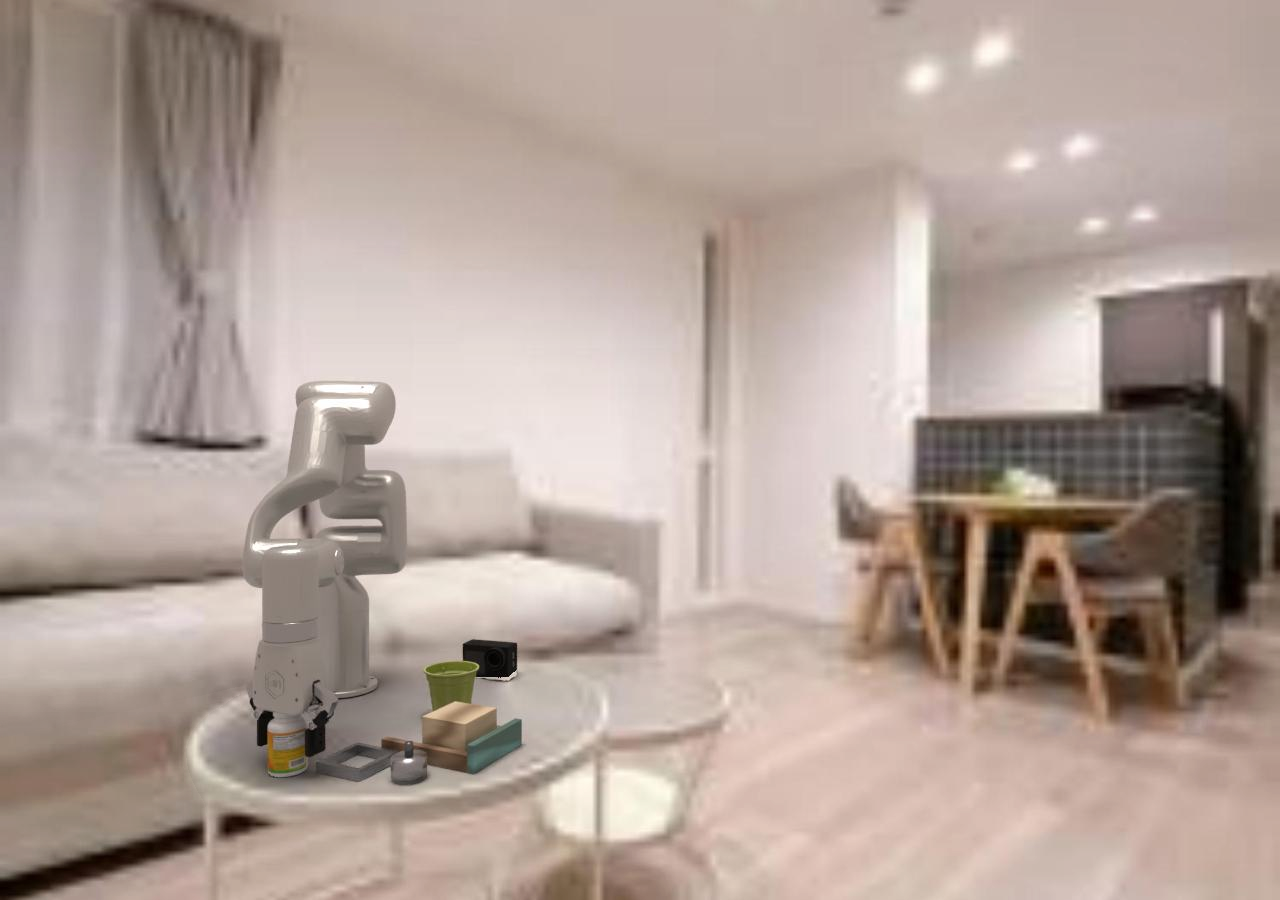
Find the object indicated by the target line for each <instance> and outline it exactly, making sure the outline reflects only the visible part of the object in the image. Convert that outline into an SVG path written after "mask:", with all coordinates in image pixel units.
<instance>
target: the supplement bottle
mask: <svg viewBox="0 0 1280 900" xmlns="http://www.w3.org/2000/svg"><path fill="white" fill-rule="evenodd" d="M273 716H274V717H275V718H274V719H272V720H271V721H270V722H269V724H268V744H267V773H268V775H269V774H270V775H269V776H271V777H273V776H274V777H273V778H287V777H293V776H296V775H299V774H301V773H303V772H305V771H306V770H307V769H308V767H309V757H306V756H305V729H308V728H309V727H308V725H307V723H306V721H305V720H304V718H303V716H302V714H301V715H298V716H291V715H285V714H280V713H275V712H273Z"/></svg>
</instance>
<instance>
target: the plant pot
mask: <svg viewBox="0 0 1280 900" xmlns="http://www.w3.org/2000/svg"><path fill="white" fill-rule="evenodd" d="M478 669H479V665H478V664H476V663H473V662H468V661H463V660H448V661H447V660H446V661H441V662H436V663H432V664H428V665H426V666H425V667H424V668H423V673H424V674H425V676H426V677H425V678H426V681H427V683H428V688H429V697H430V701H431V710H432V712H433V711H435V710H438V709H440V708H442V707H444V706H446V705H448V704H451V703H453V702H455V701H456V702H463V703H469V704H472V698H473V692H474V684H475V679H476V678H475V677H476V672H477V671H478Z"/></svg>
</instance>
